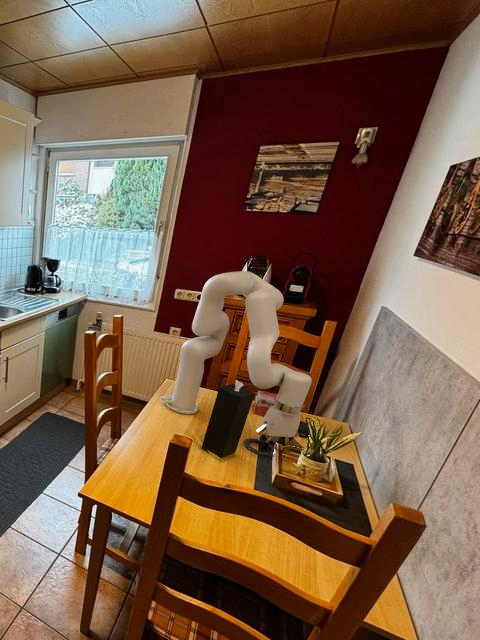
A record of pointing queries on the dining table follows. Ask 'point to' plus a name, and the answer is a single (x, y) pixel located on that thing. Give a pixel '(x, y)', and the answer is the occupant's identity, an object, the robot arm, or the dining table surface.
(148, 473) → the dining table surface
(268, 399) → the medicine box
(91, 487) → the dining table surface
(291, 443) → the post
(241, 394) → the tissue box
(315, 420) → the dining table surface
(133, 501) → the dining table surface
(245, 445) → the ring
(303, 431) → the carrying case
